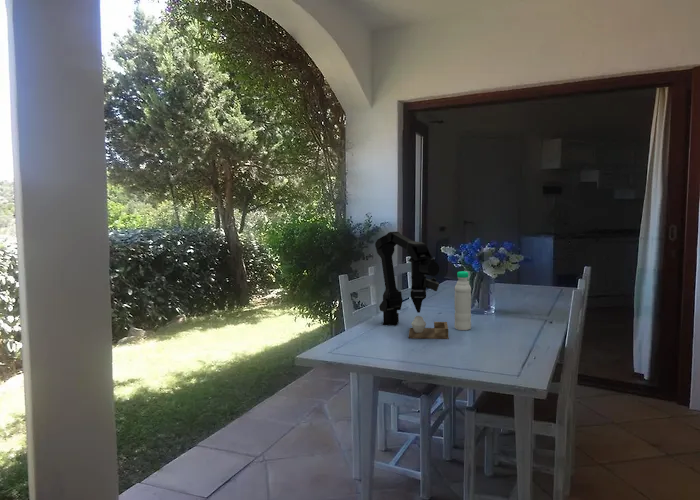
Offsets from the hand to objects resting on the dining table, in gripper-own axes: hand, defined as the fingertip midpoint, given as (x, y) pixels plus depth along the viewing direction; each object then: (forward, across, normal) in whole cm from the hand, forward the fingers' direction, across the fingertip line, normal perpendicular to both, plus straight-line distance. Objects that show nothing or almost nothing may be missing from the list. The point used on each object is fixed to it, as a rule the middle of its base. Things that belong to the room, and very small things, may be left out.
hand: (418, 310), depth 205 cm
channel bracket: (+10, 0, -4) cm, 11 cm away
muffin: (+10, 0, 0) cm, 10 cm away
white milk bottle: (+10, +10, -19) cm, 24 cm away
